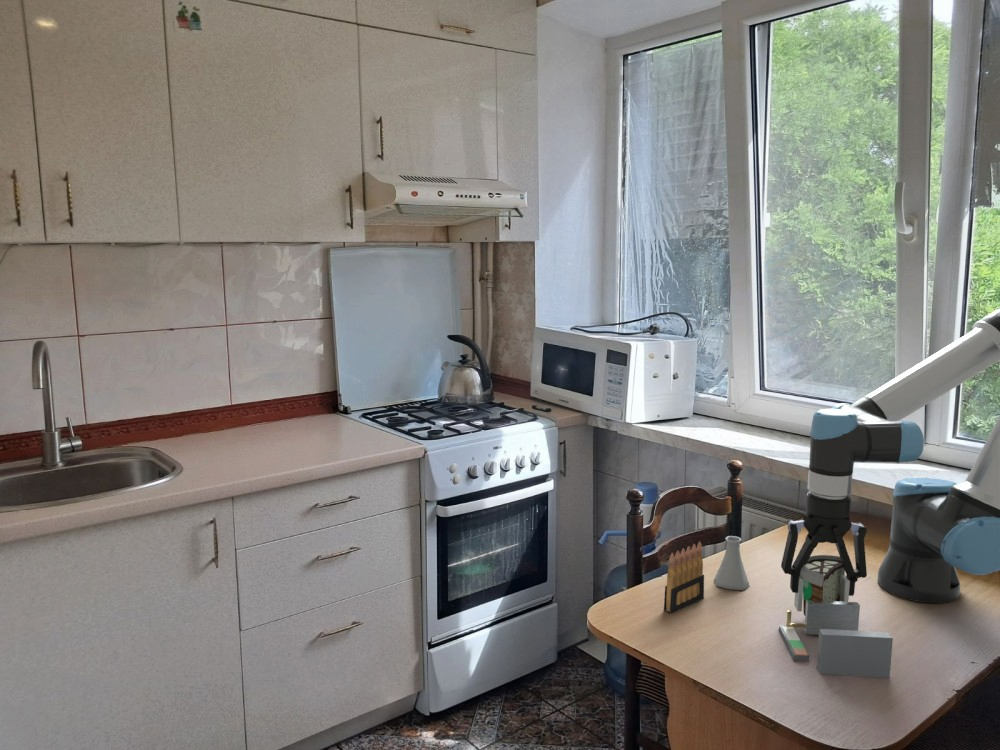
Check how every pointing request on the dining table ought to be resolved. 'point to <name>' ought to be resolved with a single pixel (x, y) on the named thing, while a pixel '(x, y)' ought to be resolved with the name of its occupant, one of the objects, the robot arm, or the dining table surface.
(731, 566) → the flask
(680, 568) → the ammunition clip
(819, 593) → the food container
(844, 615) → the plate
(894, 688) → the dining table surface
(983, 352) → the robot arm
